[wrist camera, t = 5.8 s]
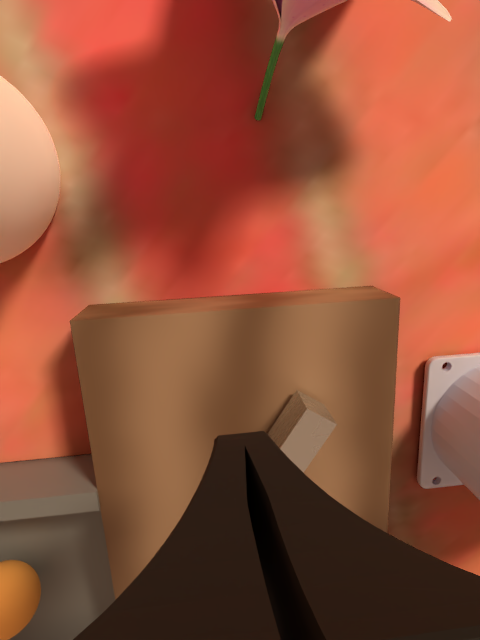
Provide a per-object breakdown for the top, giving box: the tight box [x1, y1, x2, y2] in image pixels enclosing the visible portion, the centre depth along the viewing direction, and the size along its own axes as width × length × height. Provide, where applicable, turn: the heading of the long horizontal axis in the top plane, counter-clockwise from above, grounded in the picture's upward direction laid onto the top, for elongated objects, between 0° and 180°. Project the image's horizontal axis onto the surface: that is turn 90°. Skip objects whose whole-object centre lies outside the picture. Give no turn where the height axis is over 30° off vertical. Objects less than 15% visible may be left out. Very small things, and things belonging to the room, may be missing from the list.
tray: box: [0, 454, 115, 640], centre depth 21 cm, size 10×14×3 cm
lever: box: [268, 390, 337, 473], centre depth 19 cm, size 3×15×2 cm, turn 150°
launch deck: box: [70, 286, 400, 600], centre depth 21 cm, size 14×20×3 cm
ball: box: [0, 560, 41, 640], centre depth 21 cm, size 4×4×4 cm
